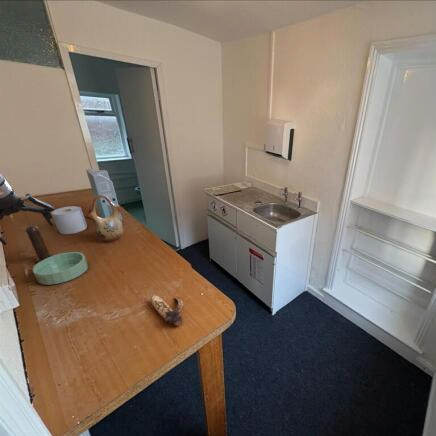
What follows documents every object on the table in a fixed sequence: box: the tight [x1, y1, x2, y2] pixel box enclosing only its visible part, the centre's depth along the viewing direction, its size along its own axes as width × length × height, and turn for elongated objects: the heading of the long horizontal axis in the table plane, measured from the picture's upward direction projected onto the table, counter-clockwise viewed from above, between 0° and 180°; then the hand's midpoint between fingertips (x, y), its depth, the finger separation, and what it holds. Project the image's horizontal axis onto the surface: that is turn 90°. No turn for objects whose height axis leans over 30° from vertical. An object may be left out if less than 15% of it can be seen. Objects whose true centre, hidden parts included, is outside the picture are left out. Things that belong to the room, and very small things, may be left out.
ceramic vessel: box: [83, 195, 125, 243], centre depth 118 cm, size 16×9×25 cm, turn 140°
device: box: [85, 168, 123, 223], centre depth 137 cm, size 16×8×30 cm, turn 48°
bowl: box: [32, 251, 89, 286], centre depth 96 cm, size 16×16×6 cm
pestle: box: [25, 225, 54, 263], centre depth 100 cm, size 5×5×18 cm
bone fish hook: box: [150, 294, 184, 327], centre depth 83 cm, size 9×5×18 cm
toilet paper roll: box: [51, 206, 88, 235], centre depth 127 cm, size 12×12×12 cm
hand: (28, 232), depth 89 cm, fingers open, 13 cm apart
